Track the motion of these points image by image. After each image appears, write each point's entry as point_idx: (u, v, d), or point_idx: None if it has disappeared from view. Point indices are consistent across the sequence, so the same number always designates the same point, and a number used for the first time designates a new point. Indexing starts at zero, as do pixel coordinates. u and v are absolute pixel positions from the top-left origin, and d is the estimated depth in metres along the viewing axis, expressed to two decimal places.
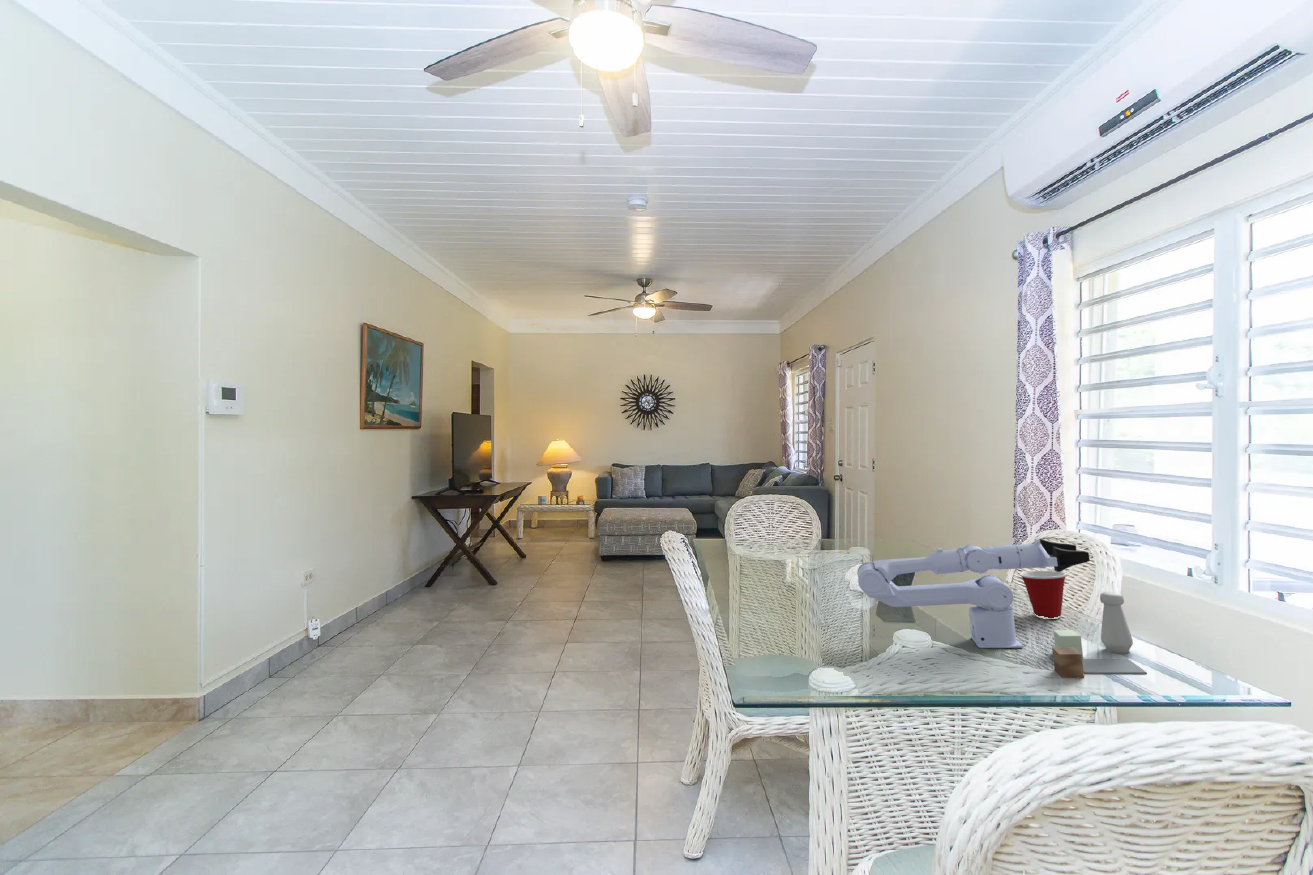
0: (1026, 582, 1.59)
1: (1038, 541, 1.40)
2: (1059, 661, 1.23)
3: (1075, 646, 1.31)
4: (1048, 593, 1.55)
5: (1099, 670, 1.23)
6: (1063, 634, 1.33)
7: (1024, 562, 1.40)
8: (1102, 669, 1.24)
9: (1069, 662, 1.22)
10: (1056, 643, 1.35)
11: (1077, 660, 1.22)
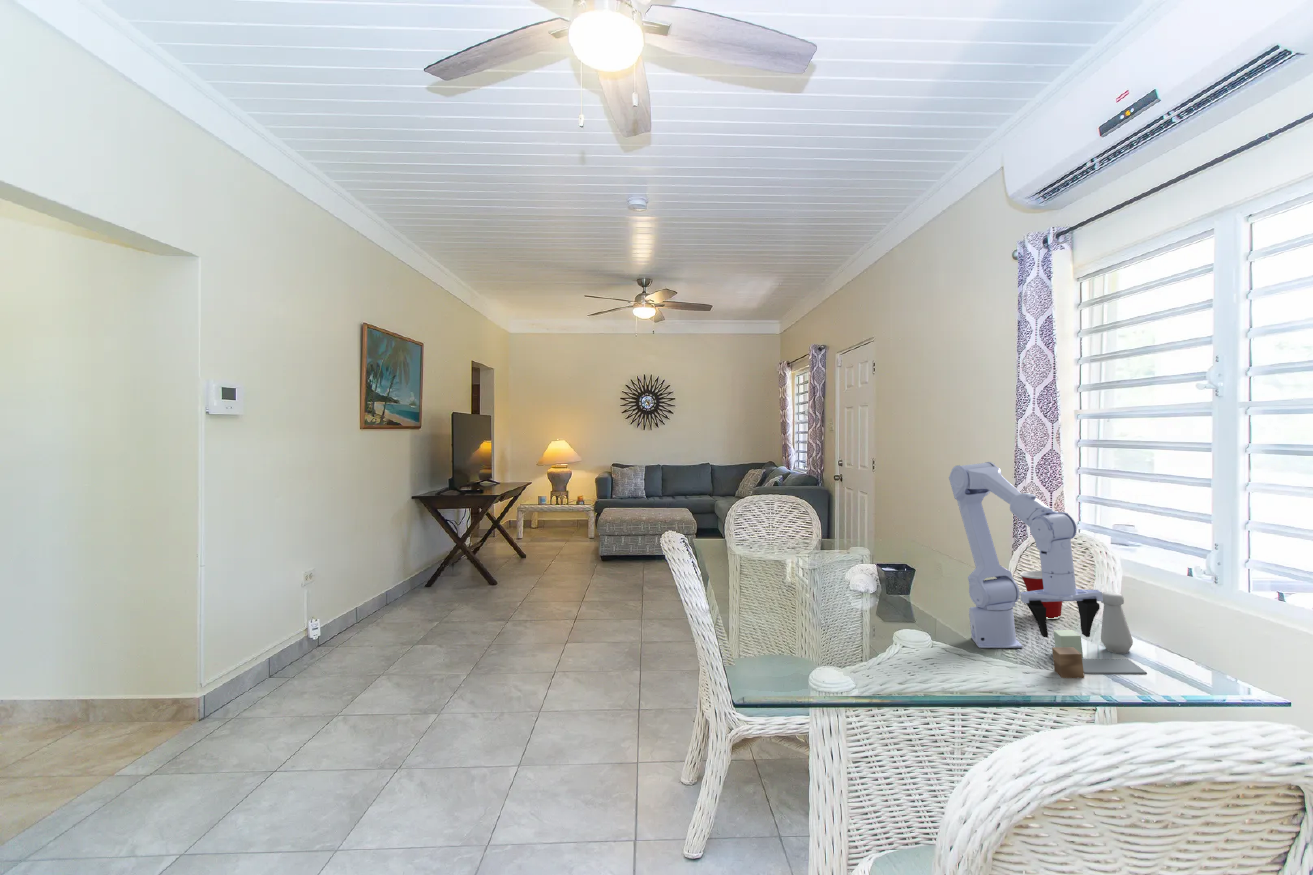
0: (1026, 582, 1.59)
1: (1061, 598, 1.21)
2: (1059, 661, 1.23)
3: (1075, 646, 1.31)
4: None
5: (1099, 670, 1.23)
6: (1063, 634, 1.33)
7: (1042, 574, 1.26)
8: (1102, 669, 1.24)
9: (1069, 662, 1.22)
10: (1056, 643, 1.35)
11: (1077, 660, 1.22)
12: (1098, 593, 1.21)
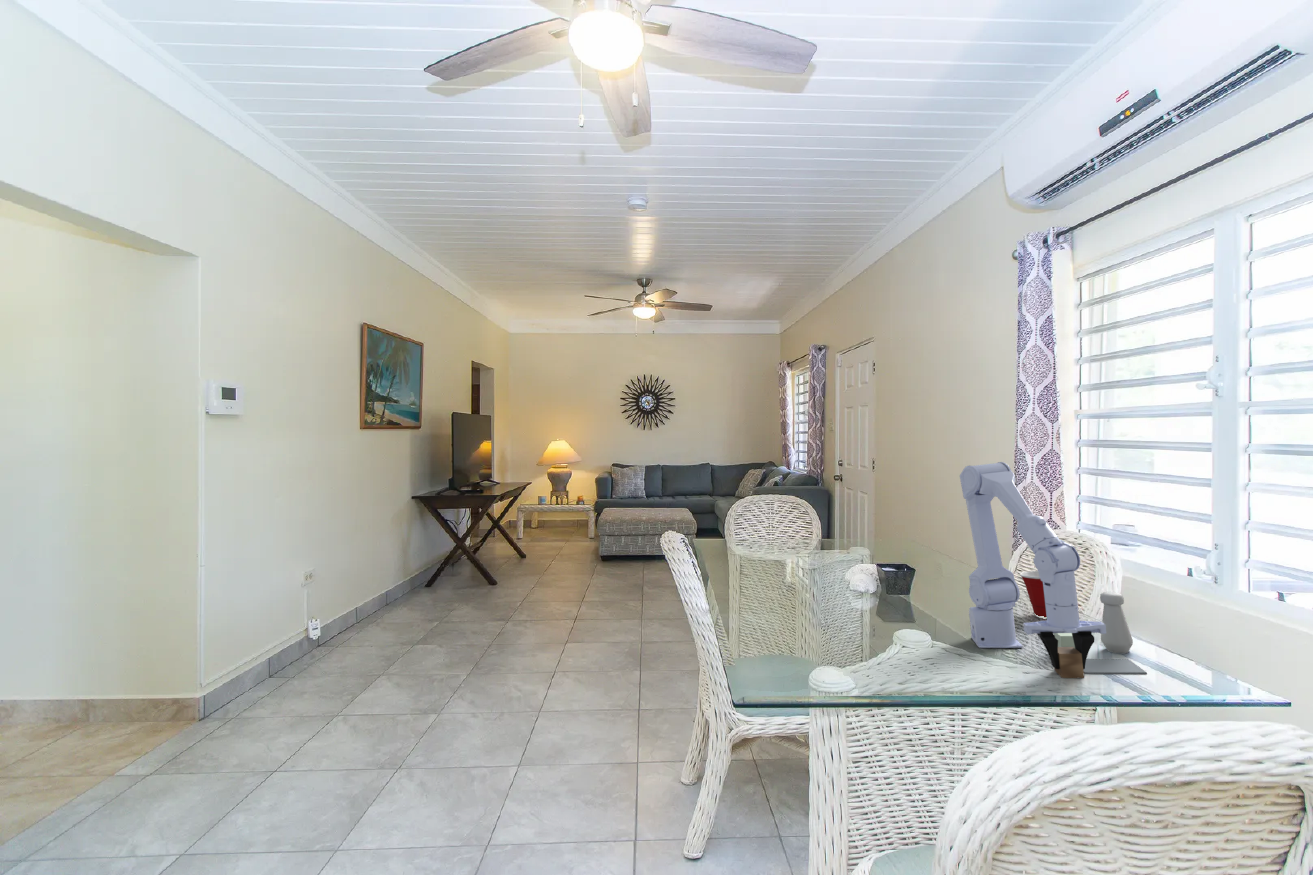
0: (1026, 582, 1.59)
1: (1064, 630, 1.21)
2: (1059, 661, 1.23)
3: None
4: None
5: (1099, 670, 1.23)
6: (1063, 634, 1.33)
7: (1045, 605, 1.26)
8: (1102, 669, 1.24)
9: (1069, 661, 1.22)
10: None
11: (1077, 659, 1.22)
12: (1102, 625, 1.21)
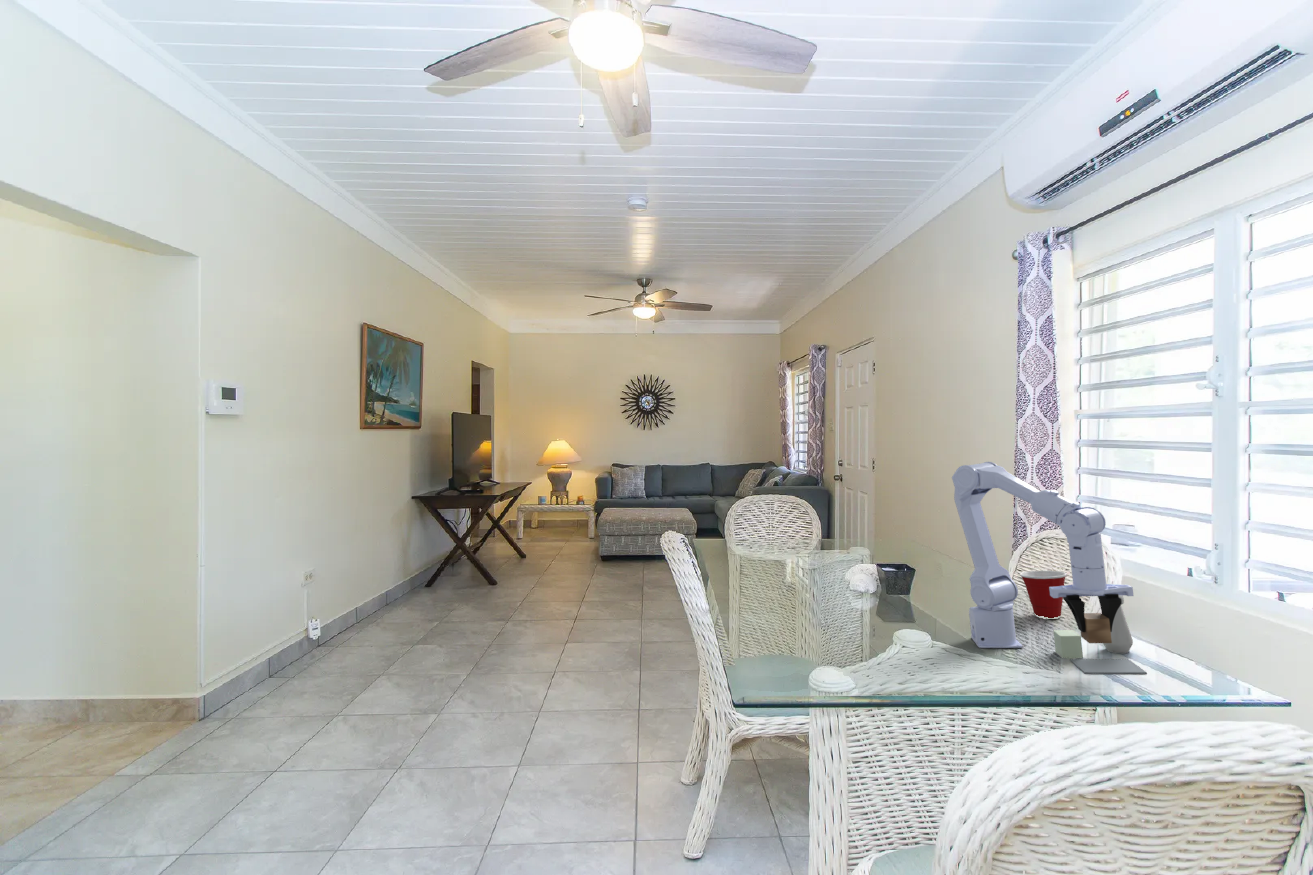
0: (1026, 582, 1.59)
1: (1091, 592, 1.21)
2: (1086, 626, 1.23)
3: (1075, 646, 1.31)
4: (1048, 593, 1.55)
5: (1099, 670, 1.23)
6: (1063, 634, 1.33)
7: (1071, 569, 1.26)
8: (1102, 669, 1.24)
9: (1097, 627, 1.22)
10: (1056, 643, 1.35)
11: (1104, 624, 1.22)
12: (1129, 588, 1.21)
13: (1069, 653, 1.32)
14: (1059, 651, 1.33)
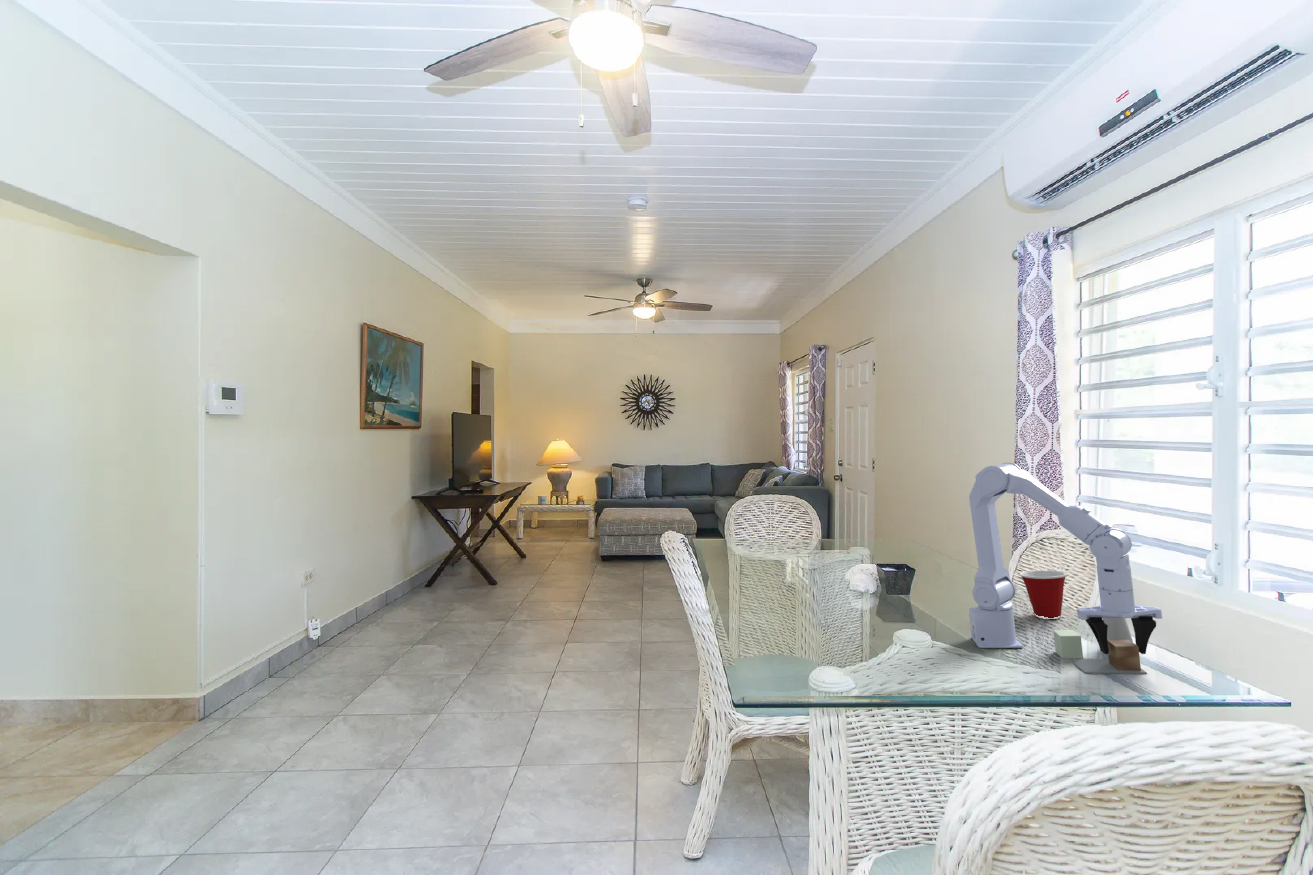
0: (1026, 582, 1.59)
1: (1120, 615, 1.21)
2: (1115, 653, 1.23)
3: (1075, 646, 1.31)
4: (1048, 593, 1.55)
5: (1099, 670, 1.23)
6: (1063, 634, 1.33)
7: (1099, 591, 1.26)
8: (1102, 669, 1.24)
9: (1126, 654, 1.22)
10: (1056, 643, 1.35)
11: (1133, 652, 1.22)
12: (1157, 610, 1.22)
13: (1069, 653, 1.32)
14: (1059, 651, 1.33)
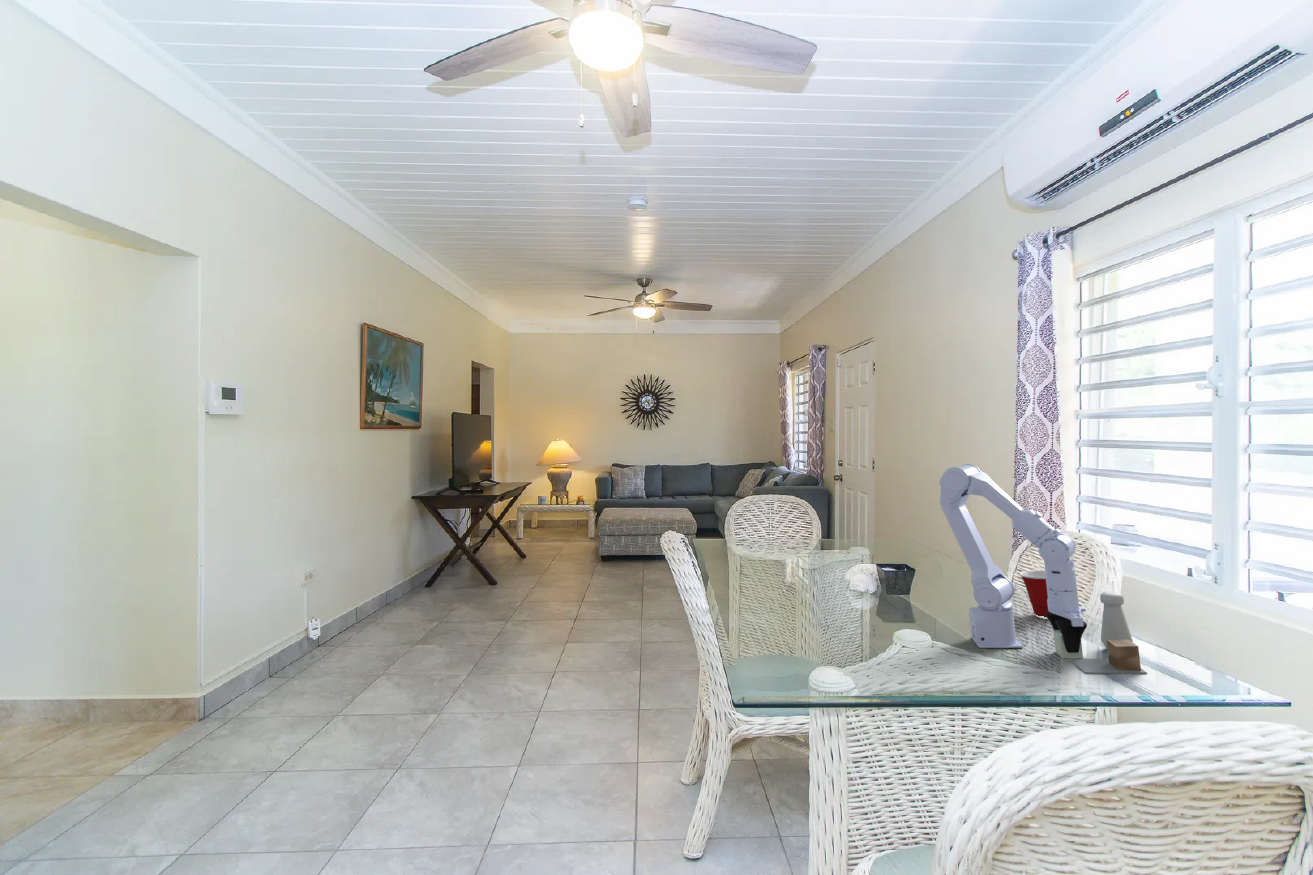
0: (1026, 582, 1.59)
1: (1084, 610, 1.32)
2: (1115, 653, 1.23)
3: None
4: None
5: (1099, 670, 1.23)
6: None
7: (1062, 595, 1.31)
8: (1102, 669, 1.24)
9: (1126, 654, 1.22)
10: (1056, 643, 1.35)
11: (1133, 652, 1.22)
12: None
13: (1069, 653, 1.32)
14: (1059, 650, 1.33)
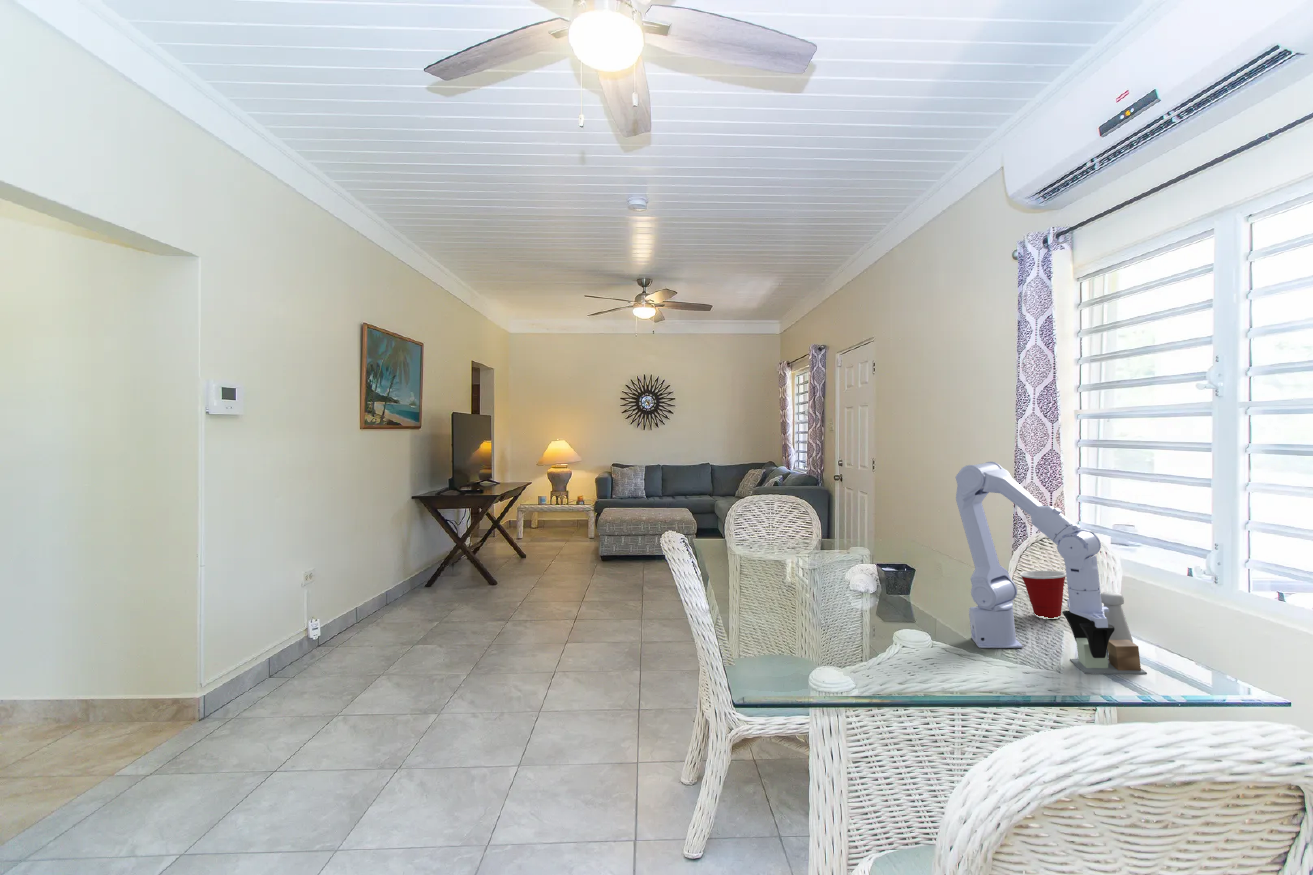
0: (1026, 582, 1.59)
1: (1107, 610, 1.25)
2: (1115, 653, 1.23)
3: None
4: (1048, 593, 1.55)
5: (1099, 670, 1.23)
6: (1087, 642, 1.26)
7: (1084, 594, 1.24)
8: (1102, 669, 1.24)
9: (1126, 654, 1.22)
10: (1079, 652, 1.28)
11: (1133, 652, 1.22)
12: None
13: (1094, 663, 1.25)
14: (1082, 660, 1.27)
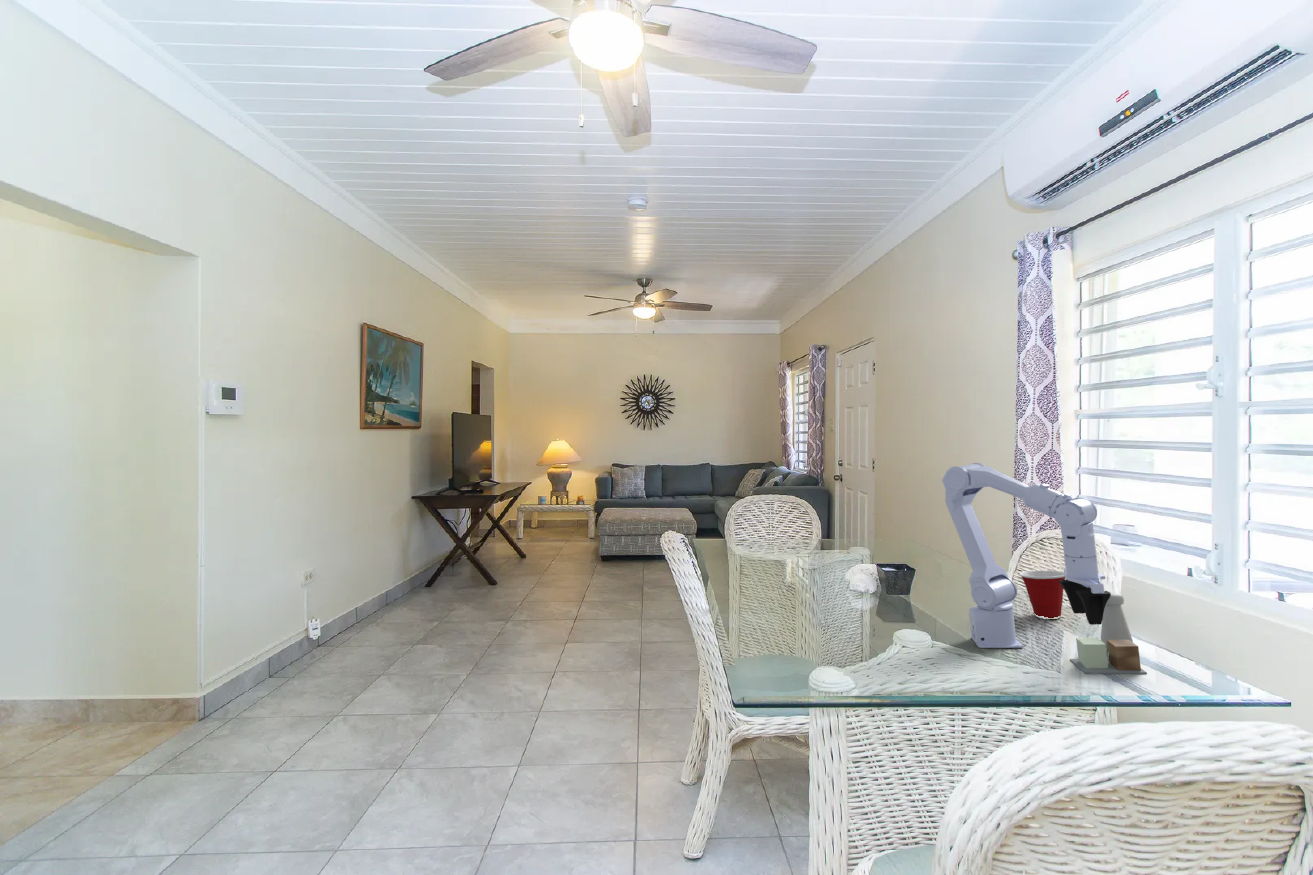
0: (1026, 582, 1.59)
1: (1103, 577, 1.25)
2: (1115, 653, 1.23)
3: (1100, 655, 1.24)
4: (1048, 593, 1.55)
5: (1099, 670, 1.23)
6: (1087, 642, 1.26)
7: (1081, 561, 1.25)
8: (1102, 669, 1.24)
9: (1126, 654, 1.22)
10: (1079, 652, 1.28)
11: (1133, 652, 1.22)
12: None
13: (1094, 663, 1.25)
14: (1082, 660, 1.27)
